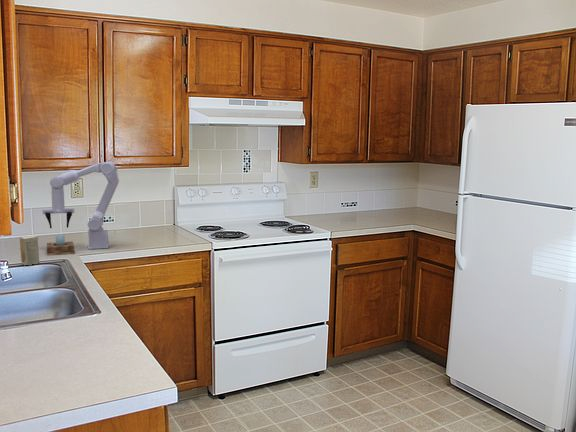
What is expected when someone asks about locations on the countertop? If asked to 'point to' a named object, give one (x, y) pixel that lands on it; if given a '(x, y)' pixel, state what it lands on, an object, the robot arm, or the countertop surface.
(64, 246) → the walnut holder
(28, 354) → the countertop surface
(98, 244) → the robot arm
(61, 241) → the peg
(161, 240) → the countertop surface
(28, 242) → the skincare box
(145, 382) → the countertop surface
